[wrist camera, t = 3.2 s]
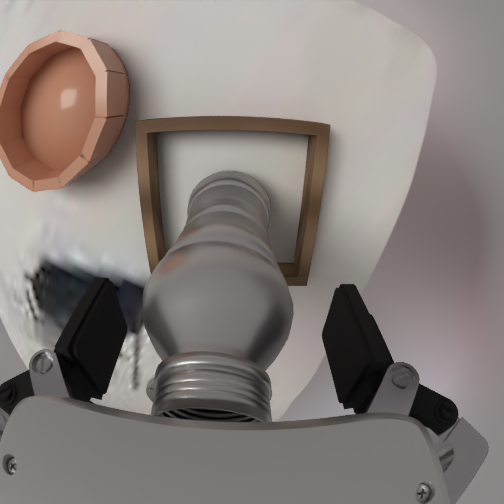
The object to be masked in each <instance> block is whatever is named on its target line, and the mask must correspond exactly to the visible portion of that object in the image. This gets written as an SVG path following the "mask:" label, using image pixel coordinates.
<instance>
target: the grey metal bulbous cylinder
mask: <svg viewBox="0 0 504 504" xmlns="http://www.w3.org/2000/svg"><path fill="white" fill-rule="evenodd" d="M187 213H188V218H187V222H186V226H185V227H184V229H183V231H182V233H181V234H180V236H179V238H178V240H177V241H176V243H175V244H174V245H173V246H172V247H171V249H170V250H169V251H168V252H167V254H166V255H165V256H164V257H163V259H162V260H161V261H160V262H159V263H158V265H157V266H156V268H155V269H154V271H153V272H152V274H151V276H150V277H149V279H148V280H147V282H146V285H145V288H144V291H143V321H144V326H145V329H146V331H147V333H148V336H149V338H150V340H151V342H152V345H153V346H154V348H155V350H156V352H157V354H158V355H159V357H160V358H161V360H162V362H161V363H160V364H159V365H158V367H157V369H156V373H155V378H154V387H155V395H154V400H153V406H152V415H153V416H160V417H168V418H176V419H186V420H197V421H212V422H272V418H271V409H270V400H271V396H272V390H271V381H270V378H269V376H268V374H267V373H266V372H265V371H266V370H267V369H268V367H269V366H270V365H271V364H272V363H273V362H274V360H275V359H276V357H277V356H278V354H279V353H280V351H281V349H282V348H283V346H284V345H285V343H286V341H287V339H288V337H289V333H290V329H291V324H292V319H293V315H294V314H293V301H292V298H291V295H290V292H289V289H288V286H287V283H286V280H285V278H284V276H283V274H282V272H281V270H280V268H279V266H278V264H277V262H276V260H275V258H274V255H273V253H272V250H271V247H270V244H269V240H268V226H269V222H270V213H271V209H270V202H269V199H268V196H267V194H266V192H265V191H264V189H263V188H262V187H261V186H260V184H259V183H258V182H257V181H255V180H254V179H253V178H251V177H250V176H248V175H246V174H244V173H241V172H237V171H220V172H217V173H214V174H212V175H210V176H208V177H206V178H205V179H203V180H202V181H201V182H200V183H198V185H197V186H196V187H195V188H194V190H193V192H192V194H191V196H190V199H189V204H188V210H187Z"/></svg>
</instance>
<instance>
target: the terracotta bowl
mask: <svg viewBox="0 0 504 504" xmlns="http://www.w3.org/2000/svg"><path fill="white" fill-rule="evenodd" d="M129 97H130V91H129V81H128V75H127V72H126V69H125V67H124V64H123V62H122V60H121V59H120V58H119V56H118V55H117V53H116V52H115V51H113V50H112V49H111V48H110V46H109V45H108V44H105V43H102V42H99V41H97V40H94V39H91V38H87V37H84V36H80V35H76V34H73V33H69V32H65V31H57V32H54V33H52V34H50V35H48V36H45V37H43V38H41V39H39V40H37V41H35V42H33V43H31V44H29V46H27V47H26V48H25V50H24V51H23V52H22V53H21V54H20V56H19V57H18V58H17V59H16V61H15V62H14V63H13V65H12V66H11V67H10V69H9V70H8V71H7V73H6V74H5V76H4V79H3V82H2V85H1V88H0V159H1V161H2V163H3V165H4V167H5V169H6V171H7V173H8V175H9V176H10V177H11V178H12V179H14V180H15V181H17V182H19V183H20V184H22V185H23V186H25V187H26V188H28V189H29V190H31V191H34V192H37V191H44V190H52V189H60V188H63V187H64V186H66V185H68V184H69V183H71V182H73V181H75V180H76V179H78V178H80V177H81V176H83V175H84V174H85V173H86V172H87V171H88V170H89V169H91V168H93V167H94V166H96V165H97V164H98V163H100V162H101V161H102V160H103V159H104V158H105V157H106V156H107V154H108V153H109V152H110V151H111V149H112V148H113V146H114V145H115V143H116V142H117V140H118V138H119V136H120V134H121V132H122V129H123V127H124V124H125V121H126V117H127V113H128V107H129Z"/></svg>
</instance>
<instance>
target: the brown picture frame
mask: <svg viewBox="0 0 504 504" xmlns="http://www.w3.org/2000/svg"><path fill="white" fill-rule="evenodd" d="M182 130H252V131H271V132H285V133H297V134H307V135H309V139H308V150H307V160H306V170H305V179H304V188H303V197H302V205H301V213H300V221H299V229H298V236H297V244H296V251H295V258H294V263H277V264H278V266H279V268H280V270H281V272H282V274H283V276H284V278H285V280H286V283H287V286H307V281H308V276H309V270H310V265H311V260H312V254H313V248H314V243H315V237H316V231H317V224H318V218H319V212H320V205H321V198H322V191H323V183H324V176H325V168H326V160H327V151H328V142H329V132H330V125H329V124H324V123H319V122H311V121H302V120H292V119H280V118H266V117H244V116H195V117H173V118H159V119H148V120H141V121H136V122H135V137H136V157H137V172H138V184H139V194H140V204H141V213H142V221H143V228H144V235H145V242H146V249H147V255H148V261H149V267H150V272H151V274H152V272H153V271H154V269H155V268H156V266H157V265H158V263H159V262H160V261H161V260H162V259H163V257H164V256H165V255H166V254H165V246H164V237H163V228H162V218H161V208H160V195H159V181H158V164H157V136H156V132H164V131H182Z"/></svg>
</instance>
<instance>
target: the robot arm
mask: <svg viewBox="0 0 504 504" xmlns="http://www.w3.org/2000/svg"><path fill="white" fill-rule="evenodd" d="M126 334H127V324H126V321H125V319H124V316H123V313H122V310H121V307H120V304H119V301H118V298H117V295H116V291H115V288H114V285H113V283H112V282H110V280H109V279H108V278H101V277H96V278H95V279H94V280H93V281H92V283H91V285H90V286H89V288H88V289H87V291H86V293H85V294H84V296H83V297H82V299H81V301H80V302H79V304H78V306H77V307H76V309H75V311H74V312H73V314H72V316H71V318H70V319H69V321H68V323H67V325H66V327H65V328H64V330H63V332H62V334H61V336H60V338H59V339H58V341H57V343H56V345H55V349H54V351H52V350H49V349H43V350H40V351H38V352H36V353H35V354H34V355H33V356H32V358H31V360H30V363H29V370H28V371H26V372H24V373H22V374H20V375H18V376H16V377H14V378H12V379H10V380H8V381H6V382H4V383H3V384H1V386H0V504H455V503H456V502H457V501H458V499H459V498H460V497H461V495H462V494H463V492H464V491H465V490H466V488H467V486H468V485H469V484H470V482H471V481H472V479H473V478H474V476H475V475H476V473H477V471H478V470H479V468H480V466H481V465H482V463H483V461H484V460H485V458H486V456H487V454H488V448H489V447H488V443H487V441H486V440H485V438H484V437H482V436H481V435H480V433H478V432H477V431H476V430H475V429H474V428H473V427H472V426H471V425H470V424H469V423H468V422H467V421H466V420H465V419H464V418H463V417H462V418H461V419H460V418H459V417H458V409H457V407H456V405H455V404H454V403H453V401H451V400H450V399H448V398H446V397H444V396H442V395H440V394H438V393H436V392H435V391H433V390H430V389H429V388H427V387H425V386H423V385H421V384H419V375H418V373H417V371H416V370H415V369H414V368H413V366H411V365H409V364H407V363H404V362H396V363H394V361H393V359H392V357H391V354H390V352H389V350H388V348H387V346H386V343H385V341H384V339H383V337H382V335H381V332H380V330H379V328H378V326H377V324H376V322H375V320H374V318H373V316H372V315H371V314H369V312H368V310H367V308H366V306H365V304H364V302H363V300H362V298H361V296H360V294H359V292H358V290H357V288H356V286H355V285H354V284H341V285H340V287H339V288H336V289H335V292H334V296H333V299H332V303H331V306H330V309H329V313H328V316H327V319H326V322H325V325H324V328H323V332H322V339H323V343H324V347H325V350H326V354H327V358H328V362H329V365H330V369H331V373H332V377H333V381H334V385H335V389H336V393H337V397H338V400H339V402H340V403H343V406H344V409H349V408H353V409H354V412H355V413H356V414H354V415H345V416H338V417H329V418H320V419H310V420H298V421H283V422H212V421H197V420H186V419H176V418H168V417H160V416H153V415H152V411H151V415H146V414H140V413H135V412H129V411H124V410H119V409H114V408H110V407H105V406H101V405H96V404H92V403H90V399H91V397H92V398H96V399H100V400H101V399H102V396H103V394H105V393H106V392H107V389H108V386H109V383H110V380H111V377H112V374H113V371H114V368H115V365H116V362H117V359H118V356H119V353H120V350H121V348H122V345H123V342H124V339H125V337H126ZM146 393H147V395H148V397H149V398H150V399H151V401H153V400H154V395H155V387H154V378H153V379H152V380H150V381H149V382H148V384H147V389H146Z"/></svg>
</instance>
